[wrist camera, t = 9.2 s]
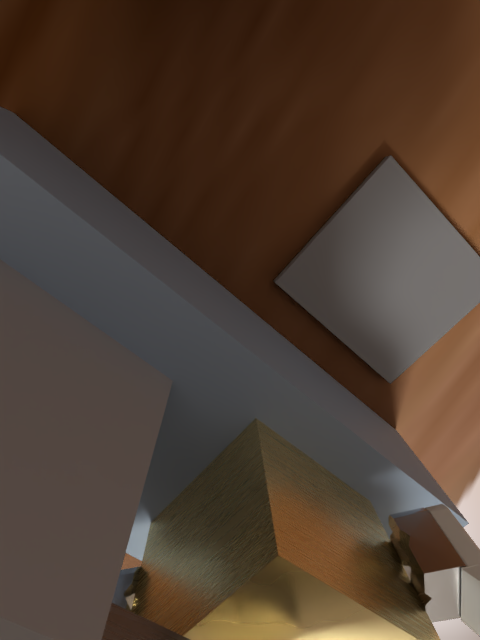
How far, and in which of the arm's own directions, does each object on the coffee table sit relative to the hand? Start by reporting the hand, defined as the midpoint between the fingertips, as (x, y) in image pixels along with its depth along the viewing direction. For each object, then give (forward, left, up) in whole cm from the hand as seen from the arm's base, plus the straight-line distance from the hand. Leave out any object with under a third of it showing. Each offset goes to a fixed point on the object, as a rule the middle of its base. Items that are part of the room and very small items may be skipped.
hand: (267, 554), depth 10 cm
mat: (+8, 0, -6) cm, 11 cm away
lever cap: (0, 0, -1) cm, 1 cm away
